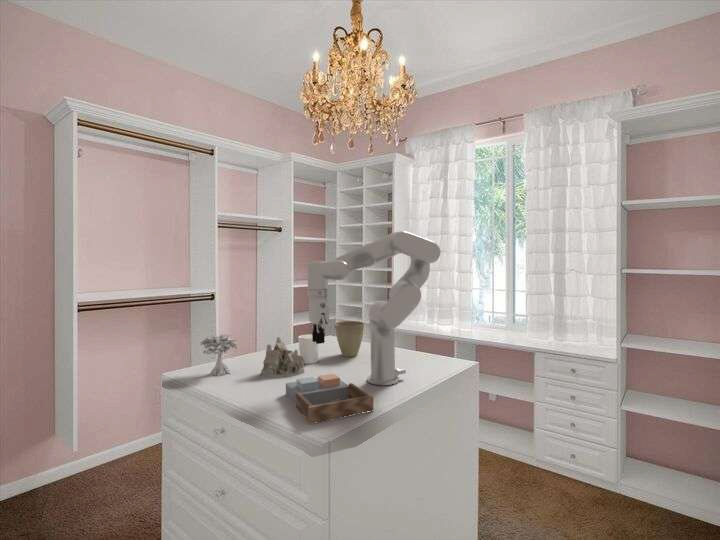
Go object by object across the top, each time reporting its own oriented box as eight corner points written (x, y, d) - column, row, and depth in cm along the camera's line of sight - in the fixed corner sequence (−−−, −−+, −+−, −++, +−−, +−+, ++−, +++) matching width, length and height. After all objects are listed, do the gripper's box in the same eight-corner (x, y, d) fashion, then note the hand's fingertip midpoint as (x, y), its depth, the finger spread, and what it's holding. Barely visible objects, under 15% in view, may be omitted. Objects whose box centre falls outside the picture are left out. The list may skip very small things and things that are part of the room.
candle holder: (316, 364, 186) (316, 338, 186) (295, 364, 188) (295, 338, 187) (321, 359, 196) (321, 334, 196) (302, 358, 198) (301, 334, 197)
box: (353, 397, 144) (353, 382, 143) (373, 411, 130) (373, 395, 130) (294, 407, 134) (294, 392, 134) (309, 424, 121) (309, 407, 120)
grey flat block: (334, 386, 156) (334, 375, 155) (350, 397, 143) (350, 386, 143) (285, 394, 147) (285, 383, 147) (297, 407, 135) (297, 395, 134)
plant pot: (330, 353, 207) (330, 322, 207) (357, 350, 213) (356, 320, 213) (341, 360, 194) (341, 326, 193) (369, 356, 200) (369, 324, 199)
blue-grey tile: (312, 383, 146) (312, 376, 146) (318, 388, 141) (318, 381, 141) (296, 386, 144) (296, 379, 143) (302, 391, 138) (301, 383, 138)
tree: (214, 381, 162) (213, 340, 162) (189, 375, 171) (188, 336, 170) (249, 370, 177) (248, 333, 177) (224, 365, 186) (224, 329, 185)
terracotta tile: (333, 380, 150) (333, 373, 150) (340, 384, 144) (339, 377, 144) (318, 382, 147) (317, 375, 147) (324, 387, 142) (324, 380, 142)
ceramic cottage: (255, 374, 171) (256, 339, 171) (282, 367, 185) (284, 334, 184) (281, 383, 163) (284, 346, 162) (309, 374, 176) (311, 340, 176)
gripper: (335, 295, 148) (336, 345, 149) (319, 291, 163) (320, 337, 163) (316, 296, 145) (316, 347, 145) (301, 292, 159) (302, 339, 160)
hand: (318, 341), depth 154 cm, fingers open, 3 cm apart
